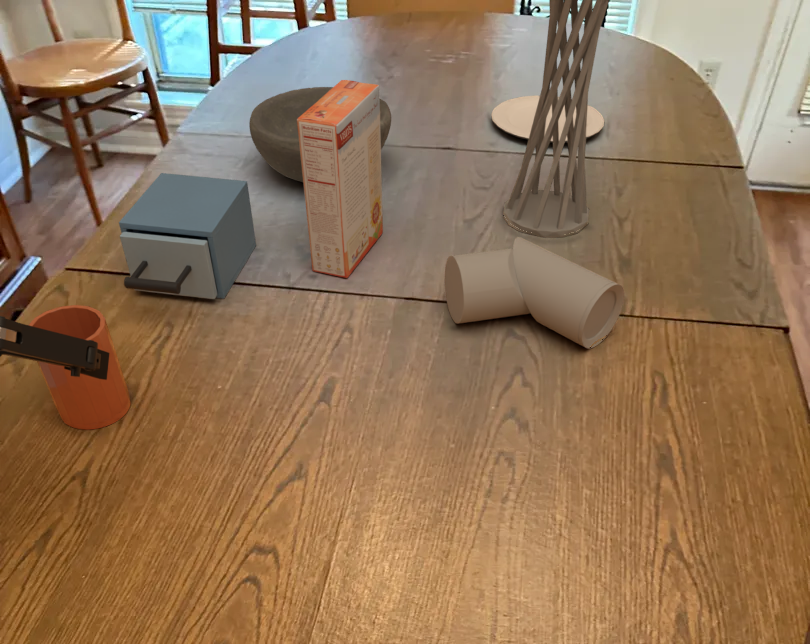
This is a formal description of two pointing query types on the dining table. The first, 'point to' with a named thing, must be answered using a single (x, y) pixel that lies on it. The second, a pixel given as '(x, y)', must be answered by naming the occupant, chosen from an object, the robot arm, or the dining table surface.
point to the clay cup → (83, 396)
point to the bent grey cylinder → (533, 291)
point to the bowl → (292, 128)
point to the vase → (545, 207)
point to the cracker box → (342, 176)
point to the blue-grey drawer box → (200, 218)
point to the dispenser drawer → (169, 264)
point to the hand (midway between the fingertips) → (42, 358)
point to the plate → (521, 113)
